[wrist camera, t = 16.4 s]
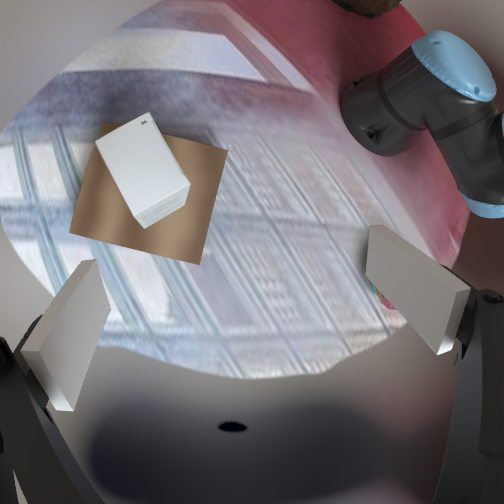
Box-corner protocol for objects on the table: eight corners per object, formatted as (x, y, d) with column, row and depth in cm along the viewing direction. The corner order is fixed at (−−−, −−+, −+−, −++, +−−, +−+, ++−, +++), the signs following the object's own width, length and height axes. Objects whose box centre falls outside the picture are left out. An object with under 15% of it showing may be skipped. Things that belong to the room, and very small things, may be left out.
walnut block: (220, 164, 42) (228, 150, 37) (196, 264, 41) (199, 264, 35) (112, 139, 39) (104, 121, 33) (82, 236, 38) (68, 232, 32)
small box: (112, 172, 33) (92, 139, 23) (153, 148, 34) (149, 108, 24) (144, 231, 34) (132, 218, 24) (186, 206, 35) (191, 184, 25)
